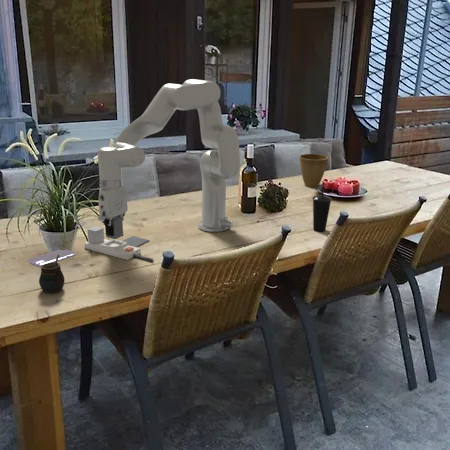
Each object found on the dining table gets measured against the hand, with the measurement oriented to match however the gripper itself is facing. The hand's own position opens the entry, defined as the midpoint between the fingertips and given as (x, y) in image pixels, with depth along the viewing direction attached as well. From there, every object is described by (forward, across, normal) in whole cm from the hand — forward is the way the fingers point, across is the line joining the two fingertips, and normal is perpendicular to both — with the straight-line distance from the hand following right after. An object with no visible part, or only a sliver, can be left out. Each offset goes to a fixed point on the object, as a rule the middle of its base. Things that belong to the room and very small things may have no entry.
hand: (114, 232), depth 183 cm
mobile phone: (+7, -16, +14) cm, 23 cm away
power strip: (+7, 0, -3) cm, 8 cm away
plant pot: (+9, +128, -25) cm, 131 cm away
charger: (+1, 0, 0) cm, 1 cm away
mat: (+7, +10, 0) cm, 13 cm away
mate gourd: (+7, -34, -5) cm, 35 cm away
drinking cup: (+8, +62, -54) cm, 83 cm away
